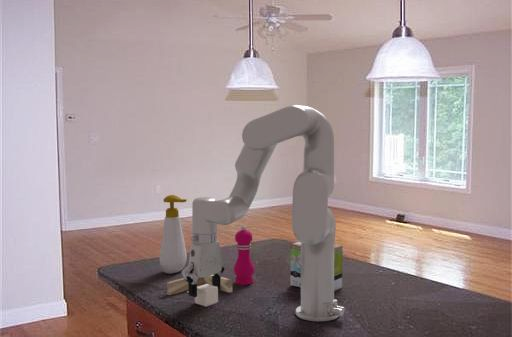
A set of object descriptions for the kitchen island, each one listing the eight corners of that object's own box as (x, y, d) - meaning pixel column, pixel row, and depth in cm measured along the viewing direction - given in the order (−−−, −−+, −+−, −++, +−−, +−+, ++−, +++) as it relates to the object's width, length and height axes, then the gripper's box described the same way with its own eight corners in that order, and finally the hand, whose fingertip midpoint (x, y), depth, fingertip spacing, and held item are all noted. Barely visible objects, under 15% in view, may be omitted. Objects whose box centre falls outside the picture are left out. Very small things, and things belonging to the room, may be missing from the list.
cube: (218, 302, 167) (217, 286, 166) (205, 306, 163) (205, 290, 163) (207, 299, 170) (206, 283, 170) (195, 303, 167) (194, 287, 166)
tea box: (289, 286, 183) (289, 243, 182) (307, 279, 190) (307, 238, 189) (325, 295, 173) (325, 249, 171) (343, 288, 180) (343, 244, 179)
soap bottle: (177, 278, 194) (175, 197, 192) (154, 274, 199) (151, 196, 196) (196, 269, 205) (195, 193, 203) (174, 266, 210) (172, 192, 208)
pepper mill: (252, 286, 183) (251, 227, 182) (231, 285, 185) (230, 227, 183) (256, 280, 190) (255, 224, 189) (236, 279, 192) (235, 223, 190)
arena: (232, 291, 177) (232, 279, 177) (195, 303, 166) (195, 291, 165) (204, 283, 187) (203, 272, 186) (167, 294, 175) (166, 282, 175)
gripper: (191, 244, 156) (191, 302, 158) (233, 235, 169) (233, 288, 170) (174, 240, 161) (175, 296, 163) (217, 232, 174) (217, 283, 175)
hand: (204, 292), depth 167 cm, fingers open, 9 cm apart
